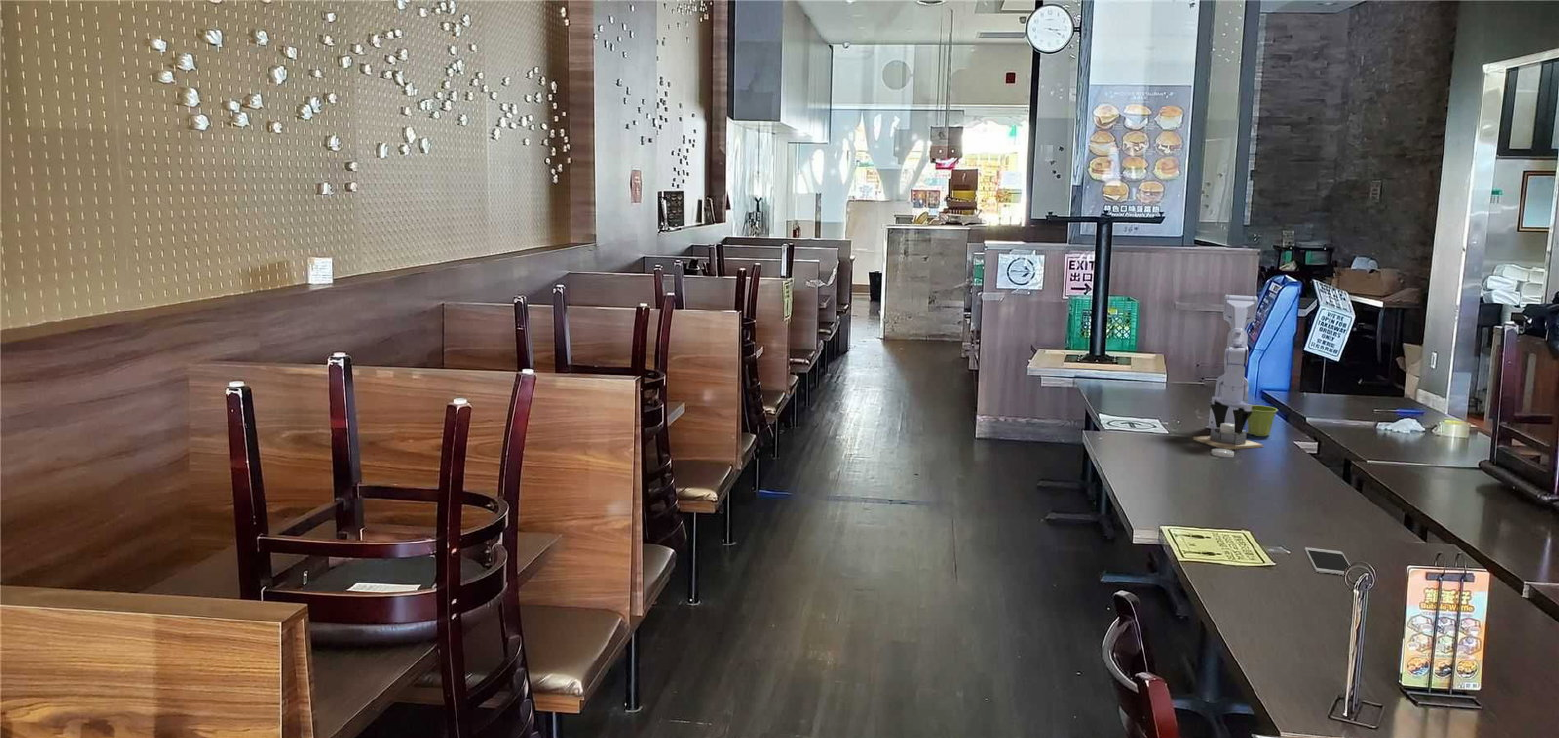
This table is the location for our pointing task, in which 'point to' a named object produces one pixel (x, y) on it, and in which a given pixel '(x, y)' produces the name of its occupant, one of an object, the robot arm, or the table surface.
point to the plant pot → (1261, 420)
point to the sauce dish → (1223, 453)
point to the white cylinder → (1227, 428)
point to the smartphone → (1327, 560)
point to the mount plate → (1228, 446)
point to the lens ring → (1228, 437)
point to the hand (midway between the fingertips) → (1228, 430)
